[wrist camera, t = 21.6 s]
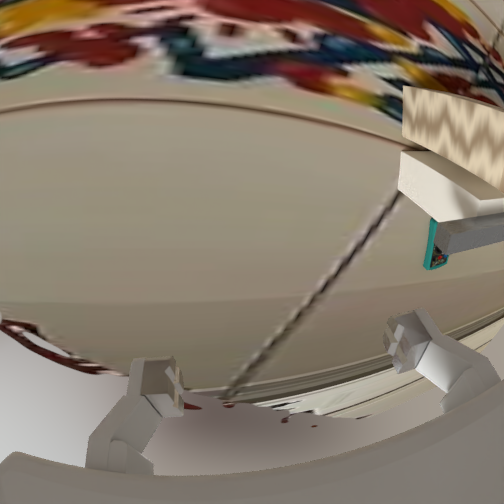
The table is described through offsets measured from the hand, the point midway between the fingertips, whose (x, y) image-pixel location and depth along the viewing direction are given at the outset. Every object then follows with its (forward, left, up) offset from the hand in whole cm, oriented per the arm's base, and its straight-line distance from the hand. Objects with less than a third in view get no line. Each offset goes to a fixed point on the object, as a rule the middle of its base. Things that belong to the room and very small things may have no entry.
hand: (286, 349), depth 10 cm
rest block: (+10, +37, -41) cm, 56 cm away
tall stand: (-2, +38, -41) cm, 56 cm away
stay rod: (+10, +34, -19) cm, 40 cm away
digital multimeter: (+29, +47, -42) cm, 69 cm away
